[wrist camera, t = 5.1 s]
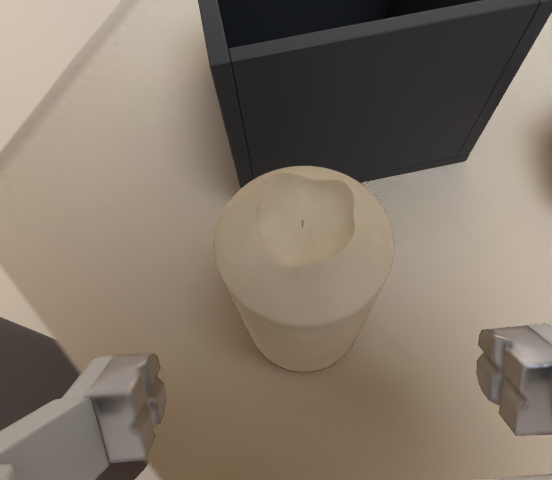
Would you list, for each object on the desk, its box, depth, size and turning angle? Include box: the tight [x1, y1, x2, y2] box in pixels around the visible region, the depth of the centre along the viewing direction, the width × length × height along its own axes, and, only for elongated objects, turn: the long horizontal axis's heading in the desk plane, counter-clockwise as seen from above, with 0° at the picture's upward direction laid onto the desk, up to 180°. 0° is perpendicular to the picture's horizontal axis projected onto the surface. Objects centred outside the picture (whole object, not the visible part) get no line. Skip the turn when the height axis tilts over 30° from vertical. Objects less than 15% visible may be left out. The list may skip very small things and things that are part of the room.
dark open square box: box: [198, 0, 552, 188], centre depth 22 cm, size 14×14×10 cm
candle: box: [214, 166, 394, 372], centre depth 15 cm, size 6×6×10 cm
